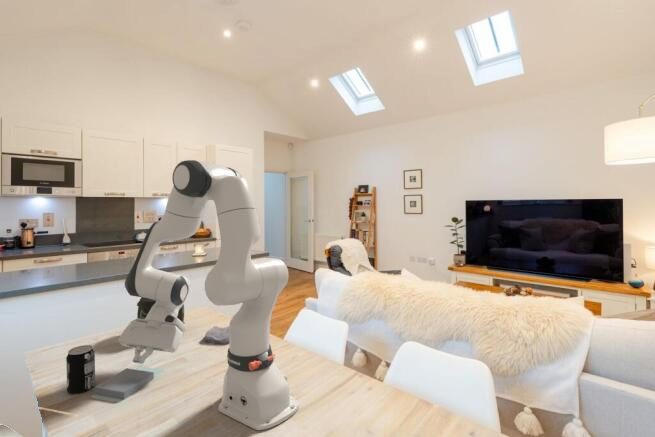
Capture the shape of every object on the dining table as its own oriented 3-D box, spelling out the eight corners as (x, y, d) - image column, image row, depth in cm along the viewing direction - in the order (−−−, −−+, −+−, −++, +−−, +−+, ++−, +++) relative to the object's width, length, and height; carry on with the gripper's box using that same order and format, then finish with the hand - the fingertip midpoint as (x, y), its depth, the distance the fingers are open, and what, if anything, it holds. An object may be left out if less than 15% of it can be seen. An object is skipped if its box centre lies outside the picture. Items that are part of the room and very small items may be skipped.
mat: (166, 371, 107) (166, 370, 107) (120, 403, 89) (120, 402, 89) (140, 367, 109) (140, 366, 109) (90, 398, 92) (90, 397, 92)
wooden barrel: (128, 334, 136) (127, 296, 135) (171, 322, 150) (170, 288, 150) (148, 346, 125) (148, 305, 124) (192, 332, 139) (192, 295, 139)
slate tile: (126, 368, 103) (94, 387, 93) (153, 372, 101) (124, 392, 91) (126, 374, 104) (94, 394, 93) (153, 379, 101) (124, 399, 91)
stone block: (231, 349, 128) (240, 334, 138) (230, 338, 127) (238, 323, 137) (202, 348, 129) (212, 333, 139) (200, 337, 128) (211, 323, 138)
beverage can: (65, 389, 96) (64, 348, 95) (93, 381, 101) (92, 342, 100) (68, 399, 91) (67, 356, 91) (97, 389, 96) (96, 349, 95)
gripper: (128, 313, 110) (103, 354, 101) (181, 319, 106) (160, 362, 97) (138, 321, 115) (115, 362, 106) (190, 327, 110) (170, 370, 101)
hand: (137, 362), depth 101 cm, fingers closed
